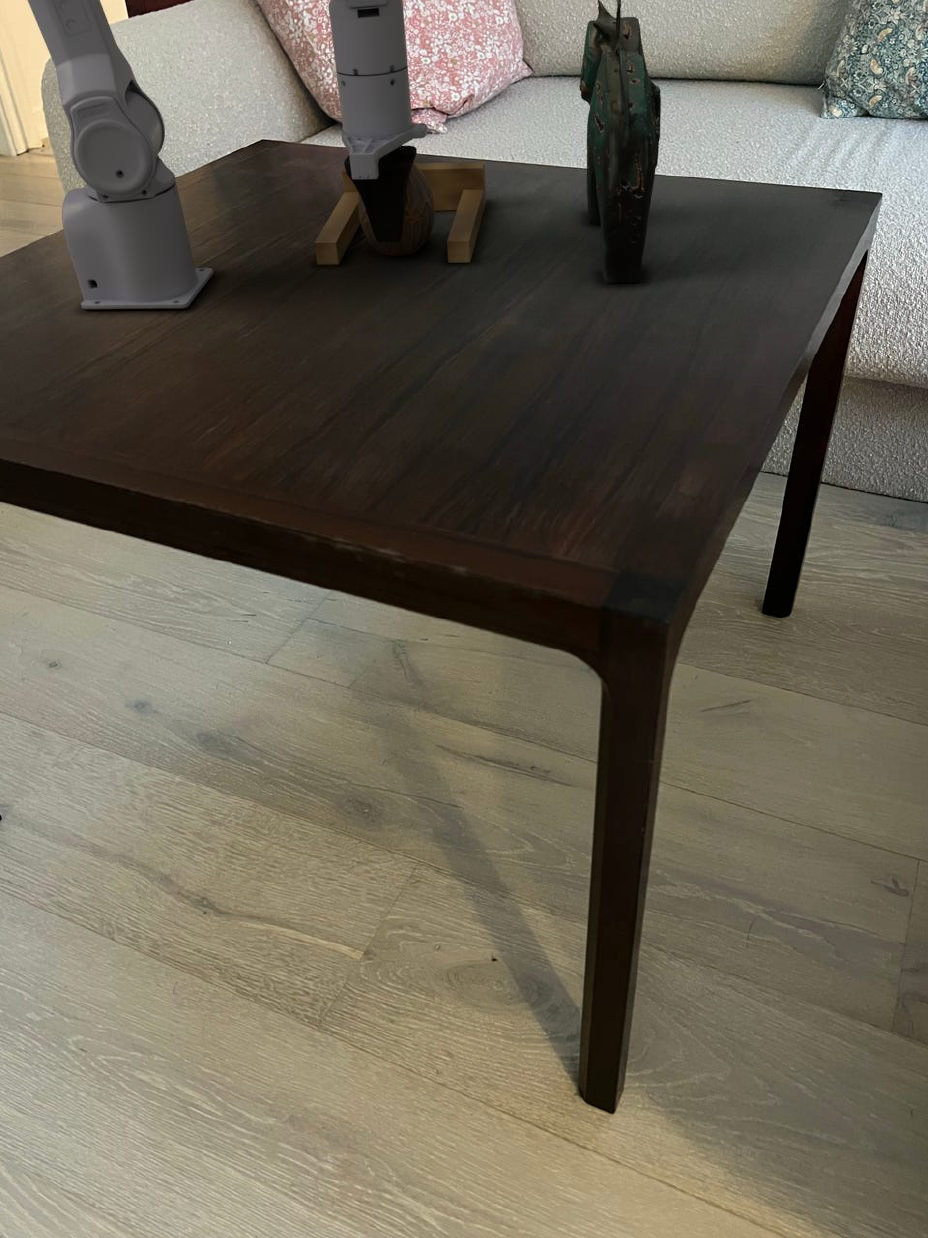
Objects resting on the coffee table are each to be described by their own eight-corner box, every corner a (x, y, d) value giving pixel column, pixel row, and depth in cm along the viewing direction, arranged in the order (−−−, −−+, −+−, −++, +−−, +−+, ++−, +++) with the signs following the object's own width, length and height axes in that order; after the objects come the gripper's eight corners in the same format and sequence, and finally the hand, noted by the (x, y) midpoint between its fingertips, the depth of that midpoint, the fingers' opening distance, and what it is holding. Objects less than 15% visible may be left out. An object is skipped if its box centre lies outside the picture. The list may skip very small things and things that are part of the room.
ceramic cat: (575, 209, 100) (579, -30, 87) (641, 206, 100) (655, -34, 87) (587, 288, 85) (594, 13, 72) (665, 285, 84) (686, 8, 72)
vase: (409, 266, 90) (400, 162, 85) (348, 255, 94) (335, 154, 88) (451, 241, 95) (445, 140, 89) (391, 231, 98) (381, 133, 92)
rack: (317, 264, 92) (310, 219, 90) (350, 205, 104) (345, 164, 102) (470, 262, 91) (468, 217, 88) (486, 203, 103) (484, 161, 100)
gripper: (408, 88, 74) (422, 270, 83) (433, 46, 85) (444, 211, 94) (314, 91, 75) (338, 271, 84) (351, 49, 86) (369, 212, 95)
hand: (389, 240), depth 89 cm, fingers closed
